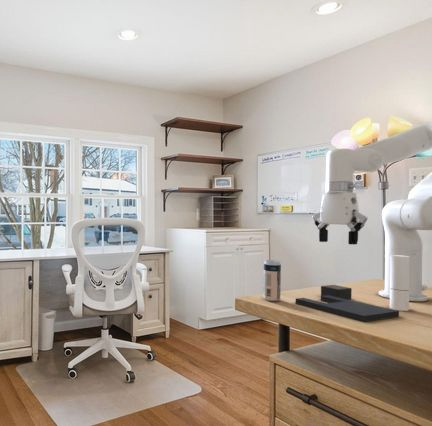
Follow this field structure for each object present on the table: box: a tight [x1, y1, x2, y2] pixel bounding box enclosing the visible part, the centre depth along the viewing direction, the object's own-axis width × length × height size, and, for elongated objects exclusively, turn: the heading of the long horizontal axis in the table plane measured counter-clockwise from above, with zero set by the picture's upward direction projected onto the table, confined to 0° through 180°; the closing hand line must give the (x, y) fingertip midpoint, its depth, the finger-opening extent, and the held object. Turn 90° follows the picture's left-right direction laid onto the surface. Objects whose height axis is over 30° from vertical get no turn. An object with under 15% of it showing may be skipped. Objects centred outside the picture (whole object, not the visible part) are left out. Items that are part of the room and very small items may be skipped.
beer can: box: [262, 259, 282, 302], centre depth 115 cm, size 5×5×12 cm
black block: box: [320, 284, 353, 300], centre depth 119 cm, size 6×6×4 cm
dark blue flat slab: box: [295, 295, 400, 323], centre depth 105 cm, size 14×20×2 cm
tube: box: [389, 255, 410, 312], centre depth 106 cm, size 4×4×15 cm
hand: (337, 243), depth 119 cm, fingers open, 9 cm apart
